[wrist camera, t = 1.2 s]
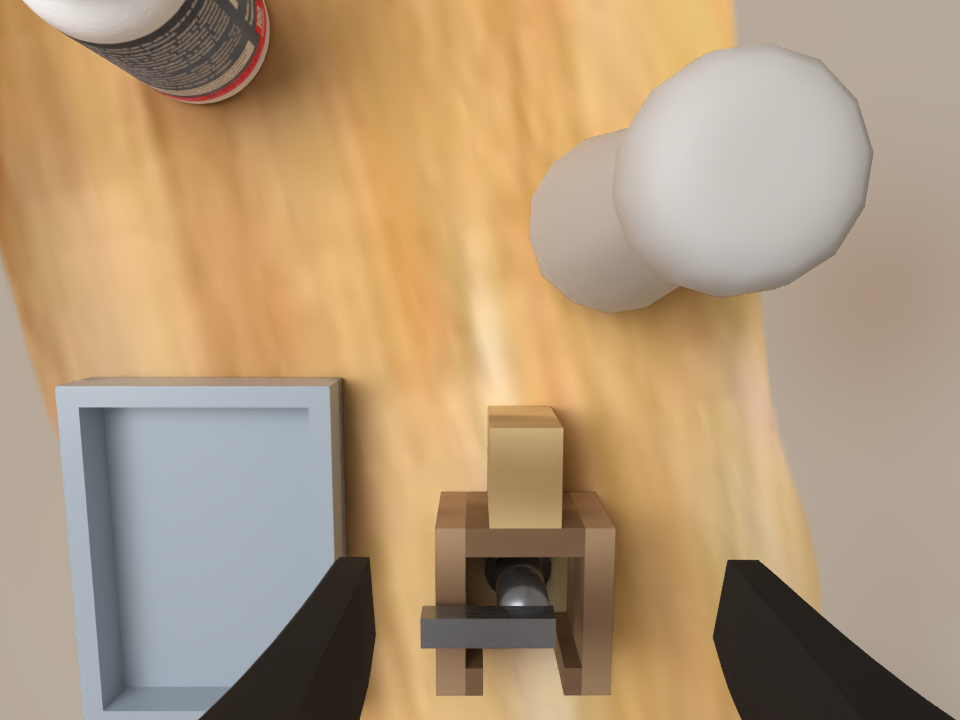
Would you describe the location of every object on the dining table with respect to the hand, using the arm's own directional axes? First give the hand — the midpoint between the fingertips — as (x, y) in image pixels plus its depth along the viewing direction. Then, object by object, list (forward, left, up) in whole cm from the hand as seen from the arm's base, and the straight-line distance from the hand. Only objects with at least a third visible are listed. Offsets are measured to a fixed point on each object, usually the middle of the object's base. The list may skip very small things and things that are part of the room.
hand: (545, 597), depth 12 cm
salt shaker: (+8, -3, -12) cm, 15 cm away
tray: (-4, +11, -11) cm, 16 cm away
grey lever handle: (-5, +1, -11) cm, 12 cm away
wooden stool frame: (-3, 0, -11) cm, 12 cm away
